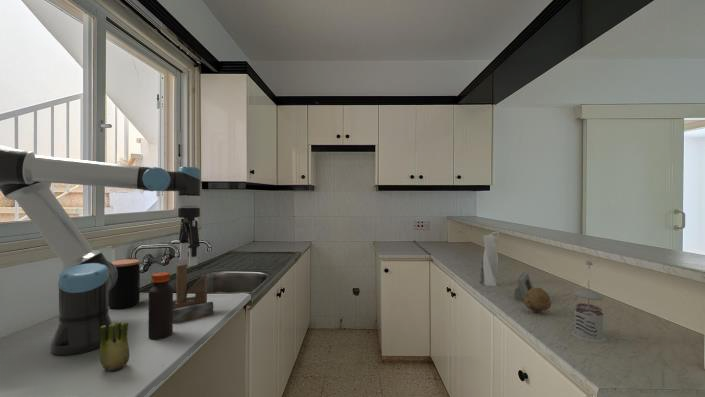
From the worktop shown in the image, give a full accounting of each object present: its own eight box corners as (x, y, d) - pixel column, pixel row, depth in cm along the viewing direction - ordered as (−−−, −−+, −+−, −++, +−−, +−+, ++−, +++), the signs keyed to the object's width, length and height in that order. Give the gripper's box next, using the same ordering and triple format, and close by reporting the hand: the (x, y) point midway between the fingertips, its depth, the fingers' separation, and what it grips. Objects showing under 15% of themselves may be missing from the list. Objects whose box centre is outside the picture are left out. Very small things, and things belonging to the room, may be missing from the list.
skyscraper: (496, 283, 172) (497, 231, 172) (500, 287, 164) (501, 233, 164) (479, 282, 173) (480, 231, 173) (483, 286, 165) (483, 232, 165)
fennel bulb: (97, 373, 82) (97, 326, 82) (111, 363, 87) (111, 319, 87) (119, 373, 82) (119, 326, 82) (132, 363, 87) (132, 319, 87)
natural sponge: (556, 315, 125) (557, 290, 125) (539, 318, 122) (540, 292, 122) (536, 307, 134) (536, 284, 134) (520, 310, 131) (520, 285, 131)
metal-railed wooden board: (172, 323, 114) (172, 310, 114) (164, 313, 124) (164, 301, 124) (213, 314, 123) (213, 302, 123) (203, 305, 133) (203, 294, 133)
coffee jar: (144, 304, 134) (144, 261, 134) (115, 311, 125) (115, 265, 125) (132, 299, 140) (132, 258, 140) (103, 306, 131) (103, 262, 131)
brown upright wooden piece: (204, 311, 124) (205, 264, 124) (174, 313, 122) (174, 265, 121) (207, 307, 128) (207, 262, 127) (177, 309, 125) (177, 263, 125)
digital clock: (529, 305, 138) (529, 280, 137) (507, 299, 144) (508, 276, 144) (542, 297, 148) (542, 274, 148) (521, 292, 155) (522, 270, 155)
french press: (598, 345, 100) (600, 265, 100) (558, 331, 110) (559, 259, 110) (612, 338, 105) (613, 262, 105) (572, 325, 115) (573, 256, 115)
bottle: (175, 335, 105) (176, 274, 105) (152, 342, 100) (152, 277, 100) (168, 329, 109) (168, 270, 109) (145, 335, 104) (145, 274, 104)
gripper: (209, 208, 116) (208, 266, 117) (191, 206, 135) (190, 256, 135) (186, 208, 112) (185, 269, 112) (171, 206, 131) (170, 258, 131)
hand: (188, 262), depth 124 cm, fingers open, 13 cm apart
